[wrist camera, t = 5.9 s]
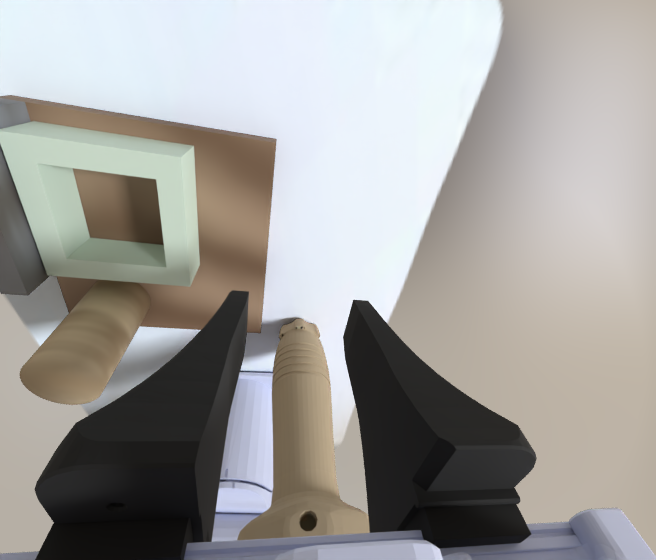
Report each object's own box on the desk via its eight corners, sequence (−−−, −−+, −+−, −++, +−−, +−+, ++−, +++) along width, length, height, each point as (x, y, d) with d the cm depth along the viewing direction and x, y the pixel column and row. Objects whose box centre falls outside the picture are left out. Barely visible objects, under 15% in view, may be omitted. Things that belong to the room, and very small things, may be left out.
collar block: (199, 264, 21) (190, 286, 19) (72, 253, 20) (47, 275, 18) (193, 145, 17) (180, 157, 15) (33, 121, 16) (-5, 130, 14)
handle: (257, 309, 25) (227, 553, 13) (339, 307, 26) (387, 536, 13) (261, 353, 28) (239, 589, 15) (335, 350, 28) (372, 573, 16)
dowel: (153, 319, 23) (109, 405, 17) (98, 316, 23) (33, 404, 17) (147, 278, 21) (94, 359, 15) (86, 273, 21) (8, 356, 15)
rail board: (261, 324, 26) (256, 374, 22) (79, 313, 23) (35, 366, 19) (276, 138, 18) (272, 161, 14) (10, 95, 16) (-87, 107, 12)
